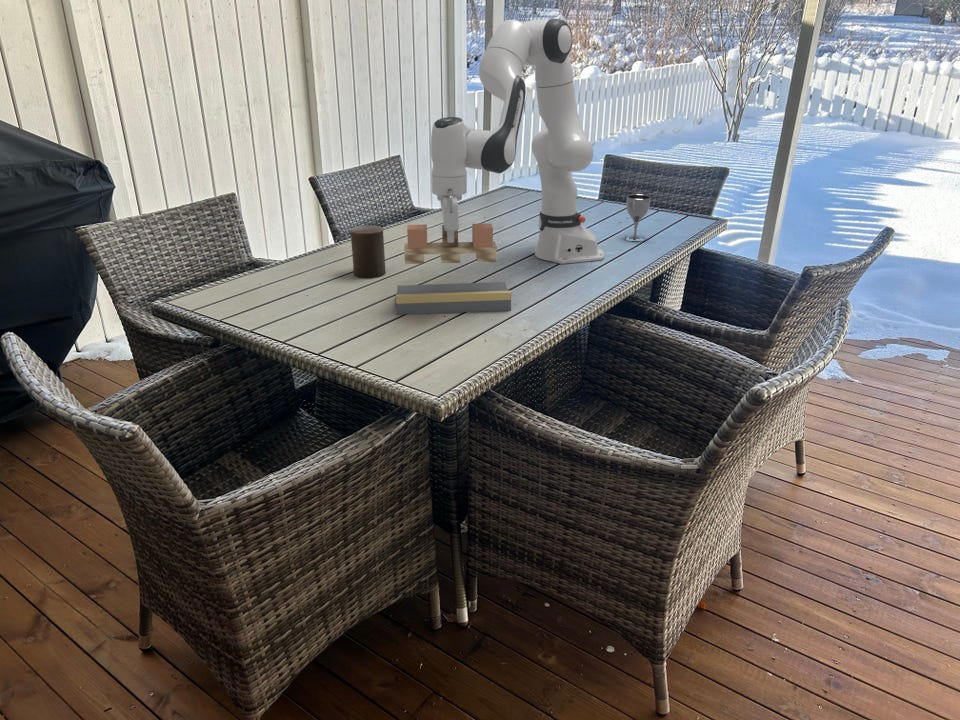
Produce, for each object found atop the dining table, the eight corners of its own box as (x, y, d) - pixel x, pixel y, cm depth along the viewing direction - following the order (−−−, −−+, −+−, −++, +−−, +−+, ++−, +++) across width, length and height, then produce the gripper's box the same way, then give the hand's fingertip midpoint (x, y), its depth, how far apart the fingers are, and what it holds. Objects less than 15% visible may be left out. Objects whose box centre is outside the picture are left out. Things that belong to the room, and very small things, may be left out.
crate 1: (427, 243, 179) (426, 224, 177) (427, 248, 175) (426, 229, 173) (408, 243, 179) (407, 224, 177) (408, 248, 175) (407, 229, 172)
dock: (504, 292, 191) (504, 275, 189) (510, 310, 179) (511, 292, 176) (398, 295, 189) (397, 278, 187) (396, 314, 176) (395, 296, 174)
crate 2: (490, 241, 181) (491, 223, 178) (492, 247, 176) (492, 228, 174) (472, 242, 180) (472, 223, 178) (473, 247, 176) (473, 228, 174)
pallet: (494, 255, 183) (494, 223, 179) (496, 262, 178) (496, 228, 174) (405, 257, 181) (403, 224, 177) (404, 264, 176) (403, 230, 172)
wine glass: (621, 241, 236) (625, 198, 230) (625, 235, 243) (629, 193, 236) (644, 243, 234) (648, 200, 227) (647, 237, 240) (652, 195, 234)
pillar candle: (371, 280, 200) (368, 230, 194) (347, 274, 205) (343, 225, 199) (392, 271, 208) (389, 223, 201) (368, 266, 212) (364, 219, 206)
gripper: (464, 194, 162) (464, 250, 168) (459, 177, 180) (460, 228, 186) (437, 194, 161) (439, 251, 167) (436, 178, 180) (437, 229, 186)
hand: (450, 239), depth 177 cm, fingers closed on pallet, 3 cm apart
